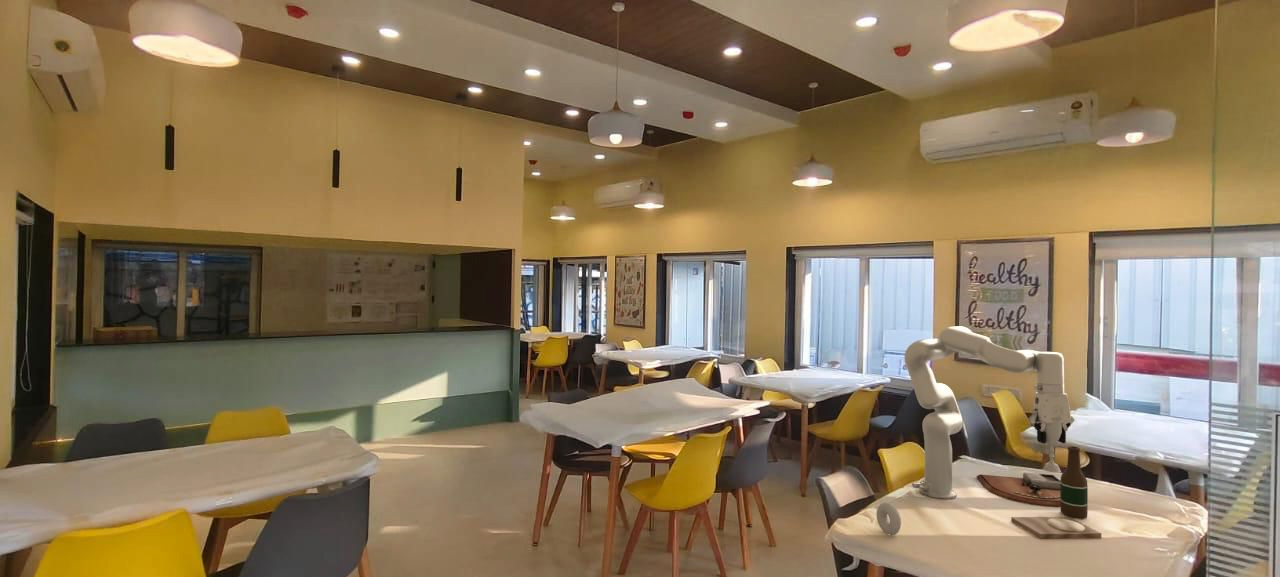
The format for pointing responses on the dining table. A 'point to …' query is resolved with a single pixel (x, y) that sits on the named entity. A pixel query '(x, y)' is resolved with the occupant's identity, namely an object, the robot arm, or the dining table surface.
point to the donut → (893, 515)
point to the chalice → (1052, 443)
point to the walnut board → (1055, 527)
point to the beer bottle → (1073, 487)
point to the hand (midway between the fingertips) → (1051, 441)
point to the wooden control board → (1025, 488)
